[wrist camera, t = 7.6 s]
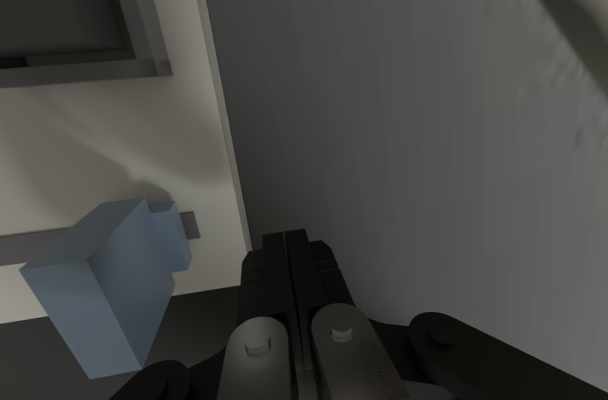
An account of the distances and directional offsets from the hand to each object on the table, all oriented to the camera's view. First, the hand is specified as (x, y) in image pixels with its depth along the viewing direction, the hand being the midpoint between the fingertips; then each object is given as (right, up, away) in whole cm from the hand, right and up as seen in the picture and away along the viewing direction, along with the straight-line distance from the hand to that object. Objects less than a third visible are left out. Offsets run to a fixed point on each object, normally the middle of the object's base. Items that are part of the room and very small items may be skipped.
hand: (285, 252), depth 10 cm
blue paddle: (-6, 0, +3) cm, 7 cm away
